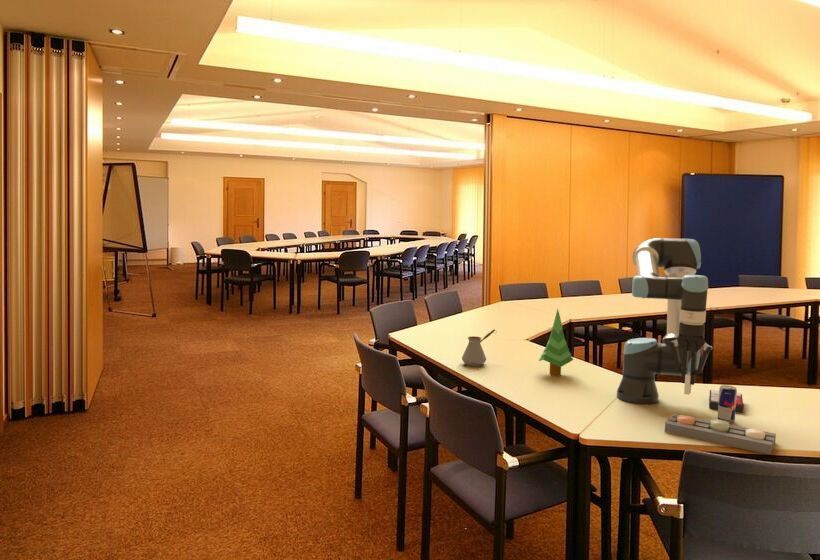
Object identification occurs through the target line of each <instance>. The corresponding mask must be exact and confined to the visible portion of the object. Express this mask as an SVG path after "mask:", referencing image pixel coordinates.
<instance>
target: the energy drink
mask: <svg viewBox="0 0 820 560" xmlns="http://www.w3.org/2000/svg"><path fill="white" fill-rule="evenodd" d="M718 390H719V402H718V410H717V420H723V421H726V422H728V423H729V424H734V423H735V422H736V421H735V420H736V412H735V411H736V397H737V393H738V391H737V390H738V389H737V387H735V386H733V385H728V384H727V385H726V384H724V385H720V386H719V389H718Z"/></svg>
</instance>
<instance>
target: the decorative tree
mask: <svg viewBox="0 0 820 560" xmlns="http://www.w3.org/2000/svg"><path fill="white" fill-rule="evenodd" d="M553 320H554V321H553V324H552V328H551V331H550V334H549V335H550V336H549V338H548V341H547V344H546V346H545V348H544V349H543V351H542V353H541V355H540V357H539V359H538V361H539V362H541V361H545V362H548V363H549V375H550V376H551V377H560V376H562V367H564V366H566V365H567V364H569V363H570V362H572V361H574V358H573V357H572V353H571V352H570V348H569V347H568V343H567V340H566V339H565V334H564V331H563V329H564V327H563V324H562V320H561V315H560V312H559V308H557V310H556V312H555V317H554V319H553Z"/></svg>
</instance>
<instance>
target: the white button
mask: <svg viewBox="0 0 820 560" xmlns="http://www.w3.org/2000/svg"><path fill="white" fill-rule="evenodd" d="M765 432H766V431H765ZM765 432H764V430H762V429H757V428H750V429H746V434H745V437H750V438H755V439H760V440H765Z"/></svg>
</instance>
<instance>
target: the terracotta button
mask: <svg viewBox="0 0 820 560" xmlns="http://www.w3.org/2000/svg"><path fill="white" fill-rule="evenodd" d="M678 415H679V416H677V423H682V424H687V425H692V426H694V423H695V418H696V417H694V418H693V416H691V415H685V414H678Z"/></svg>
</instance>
